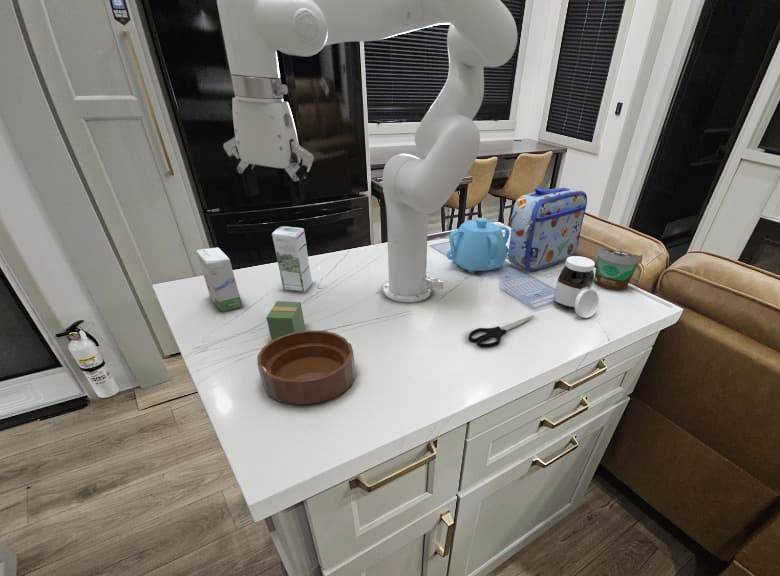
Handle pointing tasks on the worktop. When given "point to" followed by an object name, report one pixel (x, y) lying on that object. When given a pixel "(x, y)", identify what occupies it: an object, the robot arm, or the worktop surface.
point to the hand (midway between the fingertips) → (275, 198)
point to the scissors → (494, 333)
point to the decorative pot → (478, 245)
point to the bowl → (306, 366)
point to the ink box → (219, 278)
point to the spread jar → (577, 287)
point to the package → (285, 319)
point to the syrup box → (292, 258)
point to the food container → (615, 268)
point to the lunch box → (546, 227)
